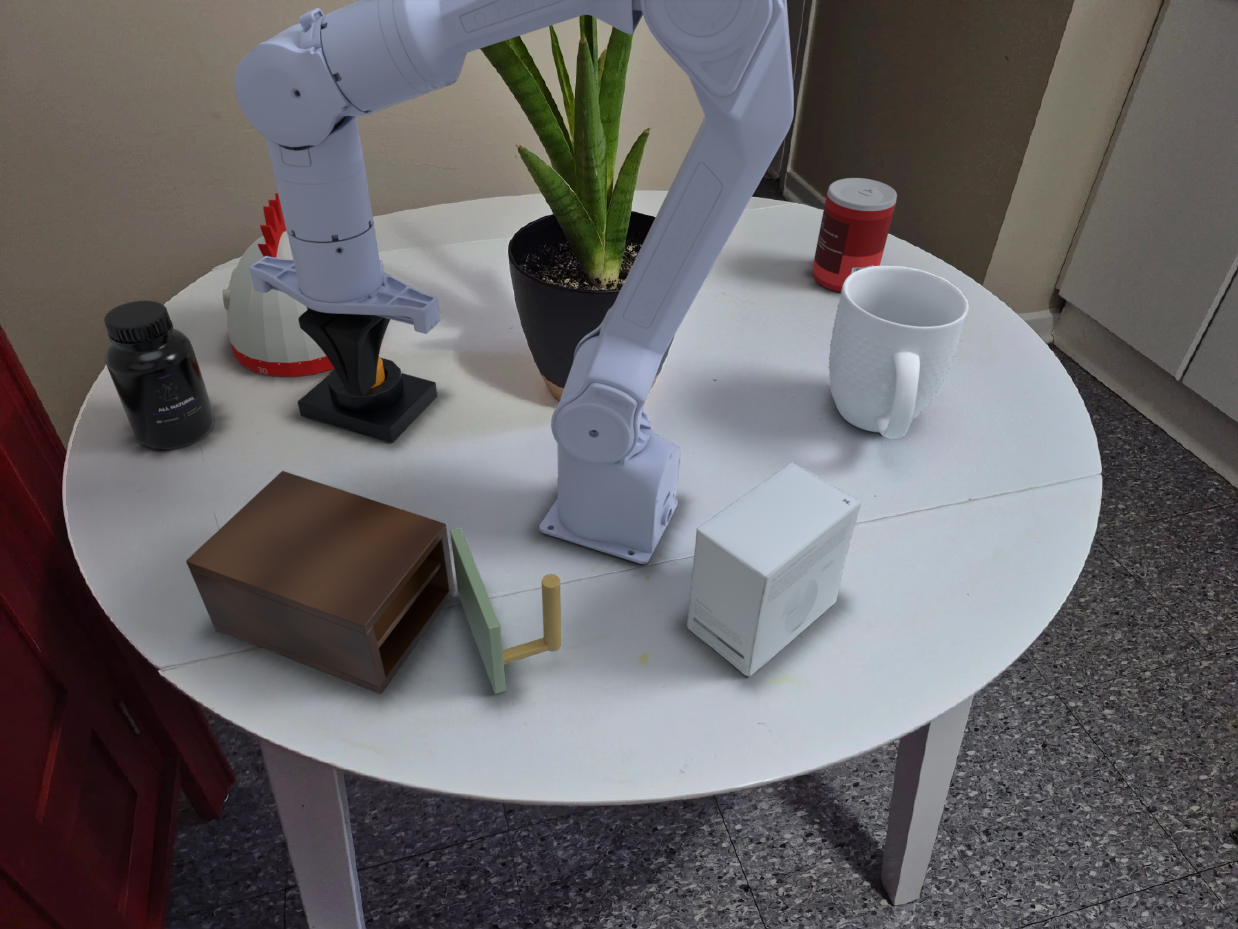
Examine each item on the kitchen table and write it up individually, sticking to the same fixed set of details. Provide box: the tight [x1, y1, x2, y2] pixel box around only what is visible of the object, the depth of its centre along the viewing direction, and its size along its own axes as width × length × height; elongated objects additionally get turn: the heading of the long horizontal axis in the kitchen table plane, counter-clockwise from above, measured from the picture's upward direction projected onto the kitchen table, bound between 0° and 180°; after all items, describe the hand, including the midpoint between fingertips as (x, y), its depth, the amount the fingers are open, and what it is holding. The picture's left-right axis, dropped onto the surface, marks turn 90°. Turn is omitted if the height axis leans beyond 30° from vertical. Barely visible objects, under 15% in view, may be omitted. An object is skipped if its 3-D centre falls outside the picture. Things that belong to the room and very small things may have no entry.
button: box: [372, 356, 385, 388], centre depth 80 cm, size 4×4×2 cm
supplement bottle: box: [103, 299, 215, 450], centre depth 76 cm, size 7×7×12 cm
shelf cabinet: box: [185, 470, 456, 695], centre depth 62 cm, size 14×10×7 cm
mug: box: [828, 265, 970, 440], centre depth 79 cm, size 15×11×13 cm
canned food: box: [812, 177, 898, 293], centre depth 102 cm, size 8×8×11 cm
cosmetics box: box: [686, 461, 862, 678], centre depth 62 cm, size 10×6×10 cm, turn 133°
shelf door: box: [449, 527, 562, 695], centre depth 60 cm, size 5×9×8 cm, turn 23°
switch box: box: [296, 356, 438, 444], centre depth 82 cm, size 10×8×4 cm
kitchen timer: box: [221, 192, 334, 378], centre depth 86 cm, size 14×14×15 cm
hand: (361, 387), depth 68 cm, fingers closed
